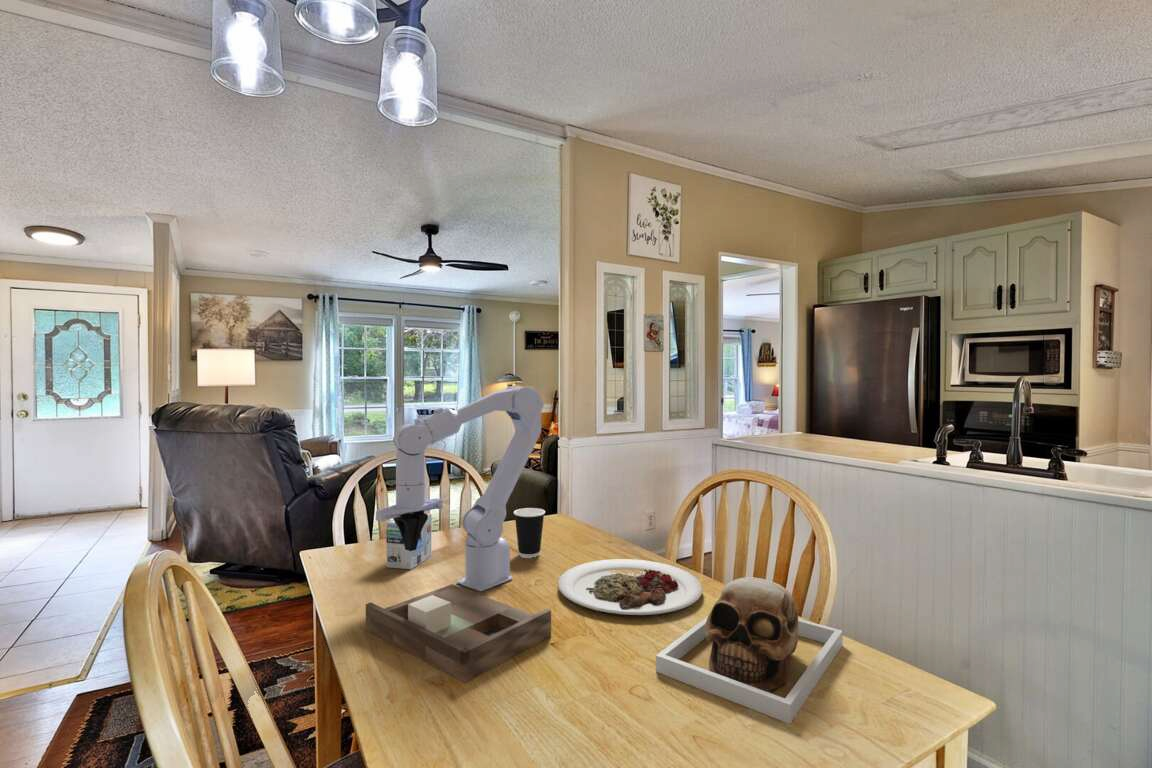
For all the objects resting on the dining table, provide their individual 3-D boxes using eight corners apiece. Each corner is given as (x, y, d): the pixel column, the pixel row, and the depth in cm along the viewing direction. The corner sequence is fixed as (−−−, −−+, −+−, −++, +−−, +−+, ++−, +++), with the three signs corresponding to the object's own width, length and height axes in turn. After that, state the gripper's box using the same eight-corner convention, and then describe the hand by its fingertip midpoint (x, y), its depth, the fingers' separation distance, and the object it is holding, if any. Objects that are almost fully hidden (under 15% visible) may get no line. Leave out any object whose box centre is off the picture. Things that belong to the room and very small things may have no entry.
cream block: (432, 617, 96) (432, 595, 96) (450, 625, 93) (450, 602, 93) (408, 627, 92) (408, 604, 92) (426, 636, 89) (426, 612, 89)
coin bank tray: (728, 612, 105) (728, 599, 105) (842, 645, 92) (842, 630, 92) (655, 671, 84) (656, 655, 84) (790, 724, 71) (790, 704, 71)
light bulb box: (411, 570, 127) (411, 523, 127) (385, 568, 129) (385, 522, 128) (432, 555, 138) (432, 512, 138) (407, 553, 139) (407, 511, 139)
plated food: (528, 592, 115) (528, 576, 115) (617, 558, 137) (617, 544, 137) (645, 639, 95) (645, 619, 95) (728, 590, 117) (728, 574, 117)
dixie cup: (507, 553, 139) (507, 510, 139) (534, 548, 144) (534, 506, 144) (524, 562, 133) (524, 517, 133) (551, 556, 138) (551, 512, 137)
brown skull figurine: (722, 698, 76) (722, 596, 78) (687, 649, 94) (688, 567, 95) (833, 699, 77) (832, 598, 79) (778, 650, 95) (778, 569, 96)
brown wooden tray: (451, 596, 112) (451, 574, 112) (551, 635, 95) (551, 610, 95) (365, 629, 97) (365, 604, 97) (464, 683, 80) (464, 652, 80)
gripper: (428, 476, 120) (428, 537, 121) (367, 486, 109) (367, 554, 109) (448, 480, 116) (448, 544, 116) (387, 490, 105) (387, 561, 105)
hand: (410, 549), depth 112 cm, fingers closed
